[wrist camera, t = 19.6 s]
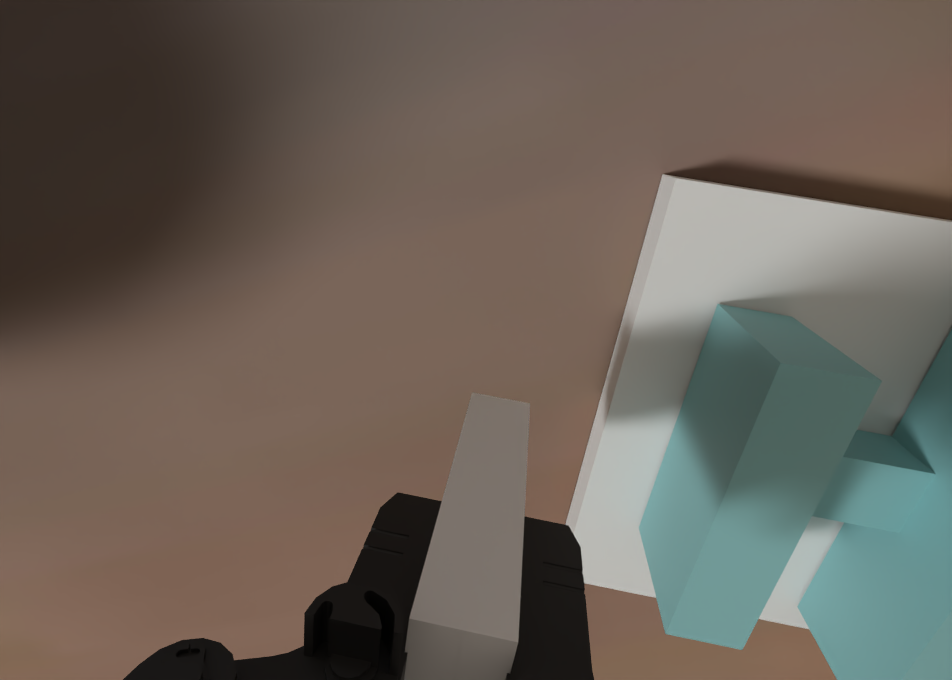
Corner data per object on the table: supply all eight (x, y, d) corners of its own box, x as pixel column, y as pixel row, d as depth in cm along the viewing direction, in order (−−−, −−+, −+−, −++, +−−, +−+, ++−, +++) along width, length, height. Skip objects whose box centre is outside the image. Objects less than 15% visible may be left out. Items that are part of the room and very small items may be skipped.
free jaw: (622, 570, 18) (644, 682, 14) (742, 230, 13) (821, 267, 9) (870, 620, 17) (959, 750, 14) (1086, 287, 13) (1309, 349, 9)
